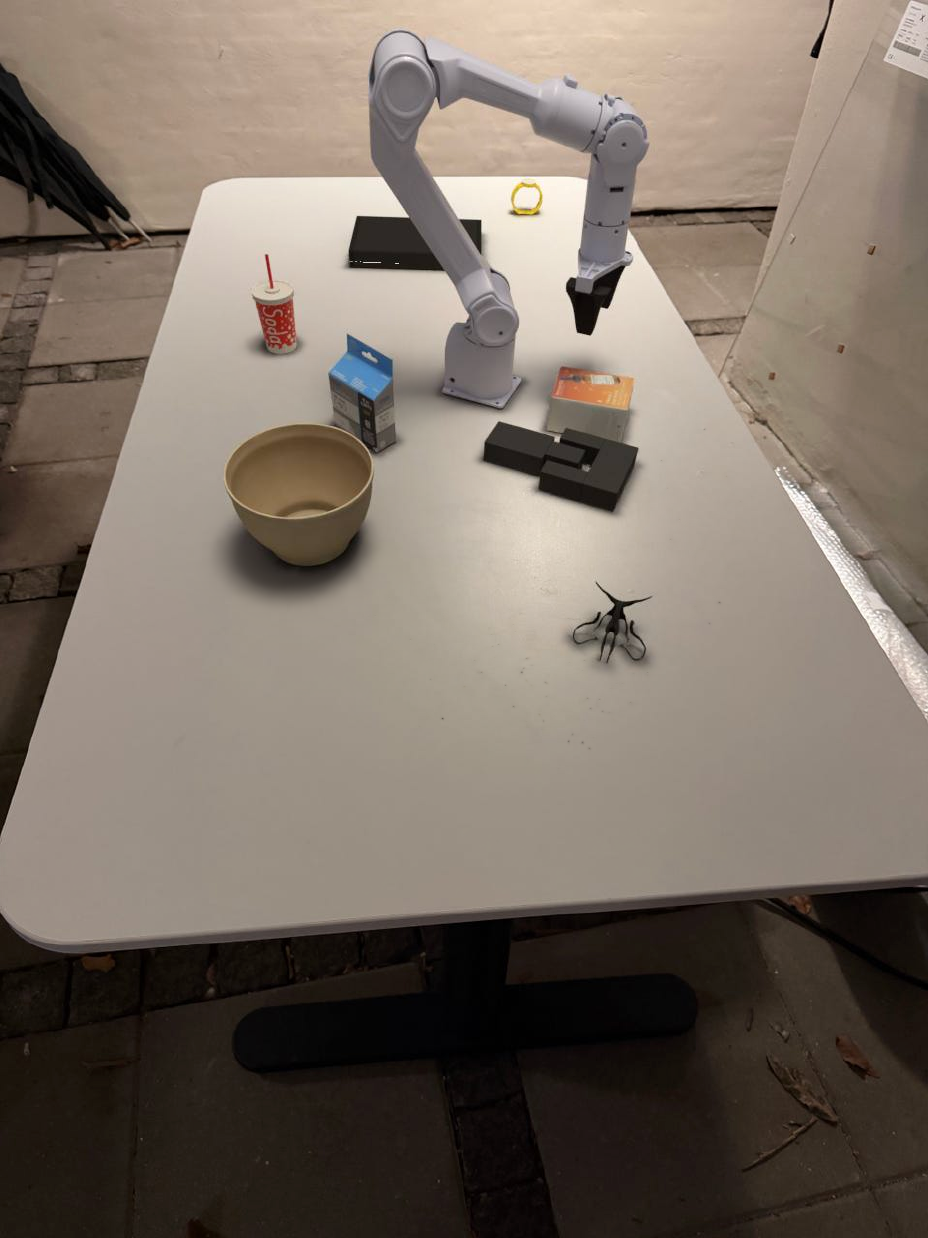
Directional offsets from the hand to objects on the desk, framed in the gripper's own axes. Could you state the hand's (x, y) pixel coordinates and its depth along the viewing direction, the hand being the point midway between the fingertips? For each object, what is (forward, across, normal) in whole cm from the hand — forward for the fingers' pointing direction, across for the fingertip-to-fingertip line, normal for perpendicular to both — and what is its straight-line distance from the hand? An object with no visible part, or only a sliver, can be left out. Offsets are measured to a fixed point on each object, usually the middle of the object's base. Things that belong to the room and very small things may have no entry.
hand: (593, 319), depth 107 cm
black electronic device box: (+10, +27, +41) cm, 50 cm away
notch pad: (+10, -20, -8) cm, 24 cm away
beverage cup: (+9, -11, +46) cm, 48 cm away
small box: (+8, -7, -9) cm, 14 cm away
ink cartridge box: (+10, -24, +24) cm, 35 cm away
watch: (+11, +52, +29) cm, 60 cm away
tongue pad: (+10, -20, 0) cm, 23 cm away
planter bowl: (+9, -45, +19) cm, 50 cm away
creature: (+10, -45, -18) cm, 49 cm away
